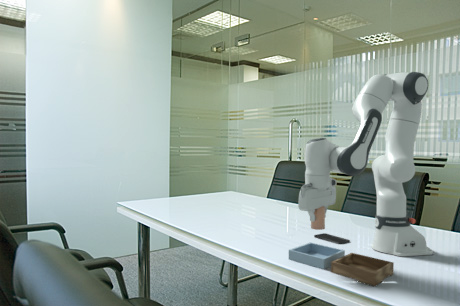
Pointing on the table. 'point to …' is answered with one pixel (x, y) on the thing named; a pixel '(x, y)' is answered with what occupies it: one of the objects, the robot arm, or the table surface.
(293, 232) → the table surface
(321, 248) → the bin
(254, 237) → the table surface
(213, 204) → the table surface
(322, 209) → the orange-tan rounded cylinder
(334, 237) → the phone
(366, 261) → the tray
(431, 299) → the table surface
